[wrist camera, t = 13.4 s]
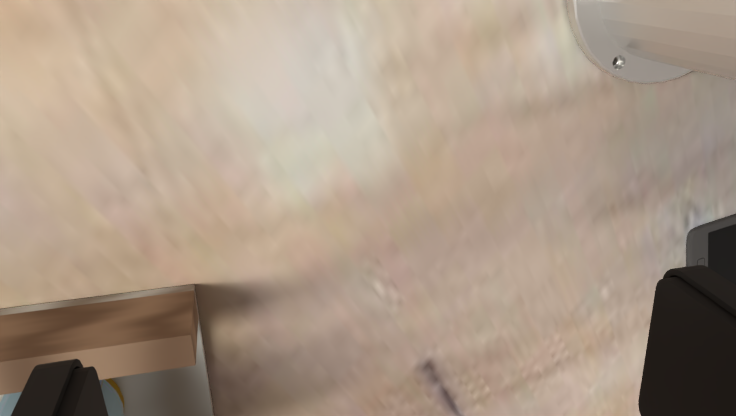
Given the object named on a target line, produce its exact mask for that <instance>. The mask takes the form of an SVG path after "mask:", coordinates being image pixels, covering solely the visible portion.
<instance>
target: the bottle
mask: <svg viewBox="0 0 736 416" xmlns="http://www.w3.org/2000/svg"><path fill="white" fill-rule="evenodd" d="M99 382H100V385H101V389H102V393H103V397H104V401H105V405H106V408H107V412H108V416H124V398H123V395H122V393H121V391H120V388H119V387H118V385H117V384H116V383H115V382H114V381H113V380H112V379H111V378H109V379H103V380H99ZM21 393H22V392H18V393H11V394H5V395H4V396H3V398H2V400H1V402H0V416H11V414H12V412H13V410H14V408H15V406H16V403H17V401H18V399H19V397H20V395H21Z"/></svg>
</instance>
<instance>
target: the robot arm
mask: <svg viewBox="0 0 736 416" xmlns="http://www.w3.org/2000/svg"><path fill="white" fill-rule="evenodd" d="M567 11H568V15H569V20H570V25H571V28H572V31H573V33H574V36H575V38H576V40H577V43H578V45H579V46H580V48H581V49H582V50H583V52H584V53H585V55H586V56H587V57H588V59H589V60H590V61H592V62H593V63H594V64H595V65H596V66H597V67H598V68H599V69H600V70H602V71H604V72H606V73H608V74H610V75H612V76H613V77H616V78H620V79H623V80H626V81H629V82H635V83H642V84H652V83H663V82H666V81H670V80H673V79H677V78H679V77H681V76H683V75H685V74H687V73H689V72H691V71H693V70H695V71H699V72H703V73H708V74H712V75H716V76H721V77H725V78H729V79H733V80H736V0H567ZM639 411H640V414H641V416H736V285H735V284H733V283H732V282H730V281H729V280H727V279H726V278H724V277H722V276H721V275H719V274H718V273H716V272H715V271H713V270H712V269H710V268H709V267H706V266H704V265H695V266H689V267H682V268H675V269H670V270H669V271H667V272H666V273H665V275H664V277H663V279H661V280H659V282H658V283H657V286H656V291H655V297H654V304H653V310H652V317H651V323H650V330H649V337H648V343H647V350H646V356H645V363H644V369H643V376H642V382H641V389H640V395H639ZM11 416H108V412H107V408H106V405H105V401H104V397H103V393H102V389H101V385H100V382H99V378H98V374H97V371H96V369H95V368H94V367H93V366H90V367H84V368H83V365H82V363H81V361H80V360H78V359H71V360H65V361H58V362H52V363H45V364H39V365H36V366H35V367H34V369H33V370H32V372H31V374H30V376H29V378H28V381H27V383H26V385H25V387H24V389H23V391H22V393H21V395H20V397H19V399H18V401H17V403H16V406H15V408H14V410H13V412H12V414H11Z"/></svg>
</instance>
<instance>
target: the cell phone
mask: <svg viewBox="0 0 736 416" xmlns="http://www.w3.org/2000/svg"><path fill="white" fill-rule="evenodd" d="M695 265H704V266H706V267H709V268H710V269H712V270H713V271H715V272H716V273H718V274H719V275H721V276H722V277H724V278H726V279H727V280H729V281H730V282H732V283H733V284H735V285H736V214H734V215H731V216H728V217H725V218H722V219H718V220H715V221H712V222H709V223H706V224H703V225H700V226H698V227H696V228H693V229H692V230H690V231H689V233H688V235H687V242H686V267H689V266H695Z"/></svg>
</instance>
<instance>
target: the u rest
mask: <svg viewBox="0 0 736 416" xmlns="http://www.w3.org/2000/svg"><path fill="white" fill-rule="evenodd" d="M71 359H78V360H80V361H81V363H82V365H83V368H84V367H90V366H93V367H94V368H95V369H96V371H97V374H98V378H99V380H103V379H109V378H111V379H112V380H113V381H114V382H115V383H116V384H117V385H118V387H119V388H120V391H121V393H122V395H123V398H124V416H214V410H213V403H212V397H211V390H210V384H209V377H208V370H207V364H206V357H205V351H204V344H203V338H202V331H201V324H200V318H199V311H198V305H197V298H196V291H195V285H194V284H192V285H184V286H176V287H168V288H160V289H152V290H145V291H137V292H129V293H121V294H113V295H106V296H98V297H90V298H82V299H74V300H67V301H59V302H51V303H43V304H35V305H28V306H20V307H12V308H4V309H0V402H1V400H2V398H3V396H4V395H5V394H11V393H18V392H22V391H23V389H24V387H25V385H26V383H27V381H28V378H29V376H30V374H31V372H32V370H33V369H34V367H35V366H36V365H39V364H45V363H52V362H58V361H65V360H71Z"/></svg>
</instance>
